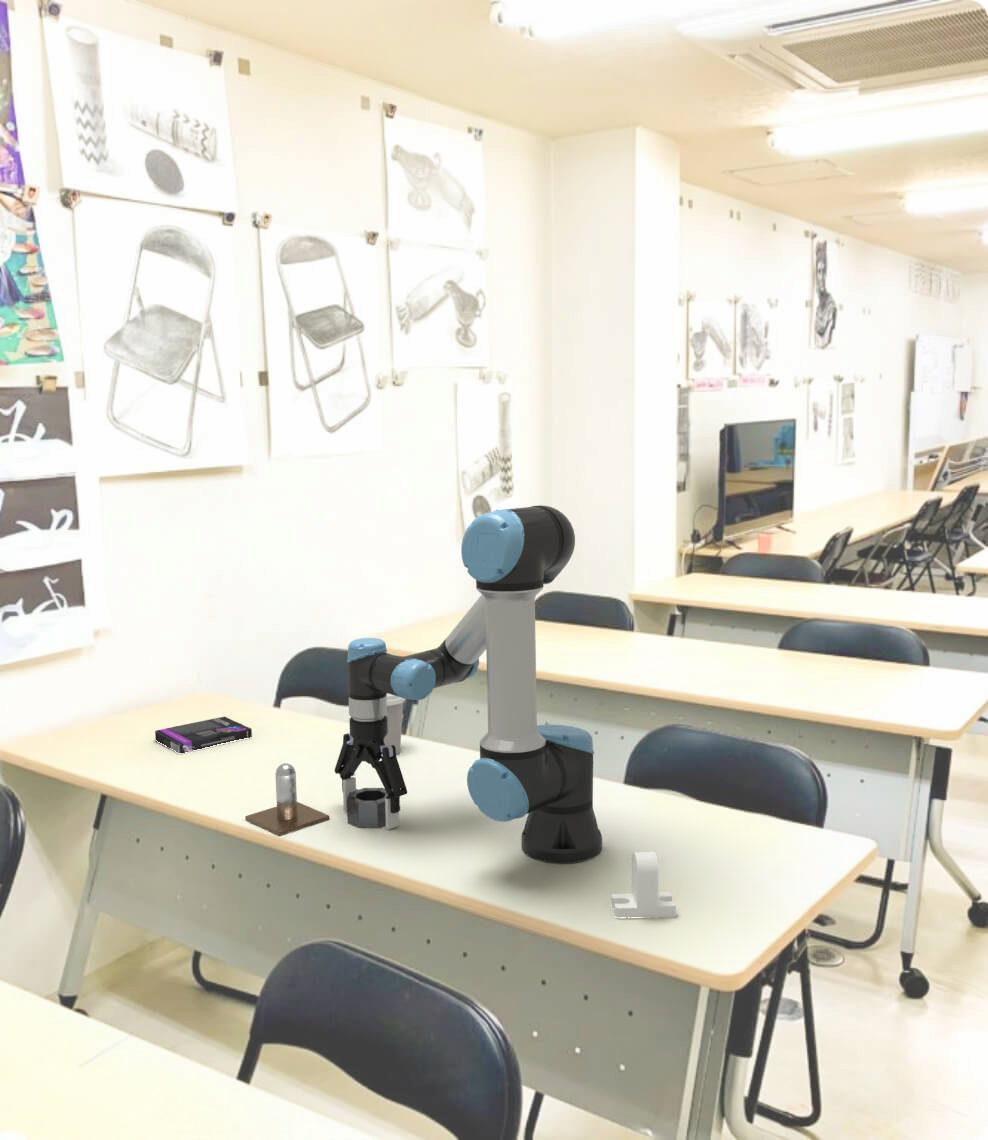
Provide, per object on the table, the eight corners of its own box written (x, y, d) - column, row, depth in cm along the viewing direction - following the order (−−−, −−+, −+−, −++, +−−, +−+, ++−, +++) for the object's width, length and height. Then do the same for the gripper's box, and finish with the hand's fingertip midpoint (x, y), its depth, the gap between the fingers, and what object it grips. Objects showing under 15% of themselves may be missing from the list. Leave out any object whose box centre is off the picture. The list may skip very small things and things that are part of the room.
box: (179, 758, 266) (253, 740, 279) (178, 744, 265) (252, 726, 278) (155, 744, 277) (226, 727, 289) (154, 730, 276) (226, 714, 288)
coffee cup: (414, 750, 267) (413, 690, 265) (390, 761, 259) (388, 699, 257) (383, 744, 272) (381, 684, 270) (358, 755, 264) (356, 693, 262)
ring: (402, 819, 223) (402, 795, 223) (367, 831, 217) (366, 807, 216) (374, 807, 230) (374, 784, 229) (339, 819, 224) (338, 795, 223)
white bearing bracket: (676, 917, 180) (677, 859, 179) (615, 919, 180) (616, 860, 178) (669, 902, 185) (670, 846, 184) (610, 904, 185) (611, 847, 183)
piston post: (329, 819, 224) (327, 763, 222) (279, 836, 215) (276, 778, 214) (295, 804, 232) (293, 750, 230) (245, 819, 224) (242, 764, 222)
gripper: (424, 725, 214) (425, 829, 217) (345, 700, 232) (347, 797, 235) (393, 733, 209) (396, 840, 212) (315, 707, 227) (318, 806, 230)
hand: (370, 818), depth 224 cm, fingers open, 13 cm apart
